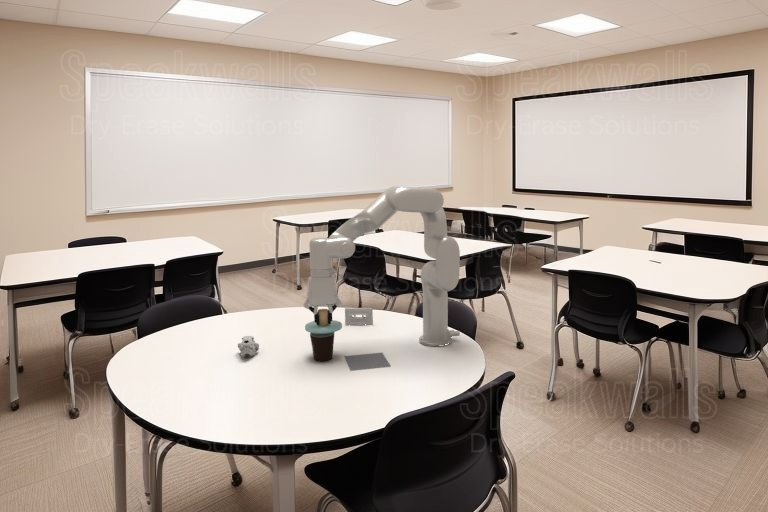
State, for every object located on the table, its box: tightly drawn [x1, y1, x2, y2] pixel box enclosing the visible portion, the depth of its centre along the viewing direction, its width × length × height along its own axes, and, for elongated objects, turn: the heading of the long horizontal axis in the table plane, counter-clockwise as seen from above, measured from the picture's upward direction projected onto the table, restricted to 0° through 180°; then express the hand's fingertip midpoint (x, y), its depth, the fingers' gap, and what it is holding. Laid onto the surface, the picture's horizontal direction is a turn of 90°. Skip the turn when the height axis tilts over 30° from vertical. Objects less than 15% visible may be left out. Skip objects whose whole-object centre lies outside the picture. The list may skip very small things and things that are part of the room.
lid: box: [304, 308, 343, 334], centre depth 186 cm, size 13×13×6 cm
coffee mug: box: [309, 332, 335, 363], centre depth 187 cm, size 12×9×10 cm
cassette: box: [344, 307, 374, 327], centre depth 226 cm, size 12×2×8 cm, turn 87°
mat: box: [344, 352, 392, 372], centre depth 184 cm, size 14×14×1 cm
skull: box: [237, 335, 260, 358], centre depth 192 cm, size 8×9×12 cm
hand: (323, 323), depth 186 cm, fingers closed on lid, 3 cm apart
